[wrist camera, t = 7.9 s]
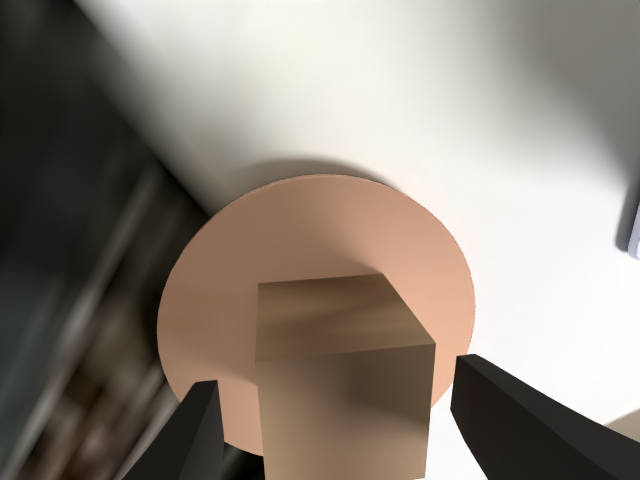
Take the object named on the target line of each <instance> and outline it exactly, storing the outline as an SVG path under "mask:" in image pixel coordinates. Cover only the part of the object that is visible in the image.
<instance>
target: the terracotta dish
mask: <svg viewBox="0 0 640 480" xmlns="http://www.w3.org/2000/svg"><path fill="white" fill-rule="evenodd" d="M382 273H383V274H384V275H385V277H386V278H387V279H388V281H389V282H390V283H391V284H392V286H393V287H394V288H395V290H396V291H397V292H398V294H399V295H400V296H401V298H402V299H403V300H404V302H405V303H406V304H407V306H408V307H409V308H410V309H411V311H412V312H413V313H414V315H415V316H416V317H417V319H418V320H419V321H420V323H421V324H422V325H423V327H424V328H425V329H426V330H427V332H428V333H429V334H430V336H431V337H432V338H433V340H434V341H435V342H436V352H435V363H434V375H433V387H432V399H431V407H432V406H433V405H434V404H436V403H437V401H438V400H439V399H440V398H441V396H442V395H443V394H444V393H445V391H446V390H447V389H448V388H449V386H450V384H451V383H452V381H453V380H454V373H455V364H456V356H459V355H466V354H467V351H468V348H469V345H470V342H471V338H472V333H473V328H474V320H475V295H474V286H473V282H472V278H471V273H470V270H469V267H468V265H467V262H466V260H465V257H464V255H463V253H462V251H461V249H460V247H459V246H458V244H457V242H456V241H455V239H454V237H453V236H452V235H451V234H450V232H449V231H448V230H447V229H446V227H445V226H444V225H443V224H442V222H440V221H439V220H438V219H437V218H436V217H435V216H434V215H433V214H432V213H431V212H430V211H428V210H427V209H426V208H424V207H423V206H421V205H420V204H419V203H417V202H416V201H414V200H413V199H411V198H410V197H408V196H406V195H404V194H402V193H400V192H398V191H396V190H394V189H392V188H390V187H388V186H386V185H383V184H380V183H377V182H374V181H371V180H368V179H364V178H359V177H354V176H348V175H340V174H313V175H303V176H296V177H291V178H287V179H283V180H279V181H275V182H272V183H269V184H267V185H264V186H262V187H259V188H256V189H254V190H252V191H250V192H248V193H246V194H244V195H243V196H241V197H239V198H237V199H235V200H233V201H232V202H231V203H229V204H228V205H227V206H225V207H224V208H222V209H221V210H220V211H218V212H217V213H216V214H215V215H213V216H212V217H211V218H210V219H209V220H208V221H207V222H206V223H205V224H204V225H203V226H202V227H201V228H200V229H199V230H198V232H197V233H196V234H195V235H194V237H193V238H192V239H191V240H190V242H189V243H188V244H187V245H186V247H185V249H184V250H183V252H182V254H181V255H180V257H179V259H178V260H177V262H176V264H175V266H174V267H173V269H172V271H171V273H170V275H169V278H168V280H167V283H166V285H165V288H164V290H163V293H162V298H161V302H160V307H159V311H158V323H157V340H158V351H159V355H160V359H161V363H162V367H163V371H164V373H165V375H166V378H167V380H168V382H169V385H170V387H171V389H172V390H173V392H174V394H175V395H176V397H177V399H178V400H179V402H180V403H181V402H182V400H183V399H184V397H185V395H186V394H187V392H188V391H189V389H190V388H191V386H192V385H193V384H194V383H195V382H199V381H209V380H218V388H219V397H220V405H221V414H222V422H223V431H224V441H225V442H227V443H229V444H231V445H233V446H235V447H237V448H239V449H242V450H245V451H248V452H250V453H253V454H257V455H261V456H264V455H263V444H262V433H261V422H260V411H259V400H258V389H257V378H256V367H255V350H256V325H257V300H258V283H268V282H281V281H293V280H306V279H319V278H331V277H344V276H357V275H370V274H382Z"/></svg>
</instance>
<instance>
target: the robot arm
mask: <svg viewBox="0 0 640 480" xmlns="http://www.w3.org/2000/svg"><path fill="white" fill-rule="evenodd" d="M628 253H629V256H631V257H632V258H634V259H637V260H640V203H639V207H638V211H637V215H636V219H635V223H634V226H633V230H632V234H631V238H630V242H629V246H628ZM450 410H451V413H452V415H453V417H454V419H455V422H456V424H457V426H458V428H459V430H460V432H461V434H462V437H463V439H464V441H465V443H466V444H467V446H468V448H469V449H470V451H471V453H472V454H473V456H474V458H475V459H476V461H477V462H478V464H479V466H480V467H481V469H482V471H483V472H484V474H485V475H486V477H487V479H488V480H640V443H639V442H637V441H635V440H633V439H630V438H628V437H626V436H624V435H622V434H620V433H617V432H615V431H613V430H611V429H609V428H607V427H605V426H603V425H601V424H599V423H597V422H595V421H593V420H591V419H589V418H587V417H585V416H583V415H581V414H579V413H577V412H575V411H574V410H572V409H570V408H568V407H566V406H564V405H562V404H561V403H559V402H557V401H555V400H553V399H552V398H550V397H548V396H546V395H545V394H543V393H541V392H539V391H538V390H536V389H534V388H533V387H531V386H529V385H528V384H526V383H524V382H523V381H521V380H519V379H518V378H516V377H514V376H513V375H511V374H509V373H508V372H506V371H504V370H503V369H501V368H499V367H498V366H496V365H494V364H493V363H491V362H489V361H487V360H486V359H484V358H482V357H480V356H478V355H476V354H469V355H459V356H456V364H455V373H454V381H453V390H452V399H451V407H450ZM223 446H224V431H223V422H222V414H221V405H220V397H219V388H218V380H209V381H199V382H195V383H194V384H193V385H192V386H191V388H190V389H189V391H188V392H187V394H186V395H185V397H184V399H183V400H182V402H181V403H180V405H179V406H178V407H177V409H176V410H175V412H174V413H173V415H172V416H171V418H170V419H169V420H168V422H167V423H166V424H165V426H164V427H163V428H162V430H161V431H160V433H159V434H158V435H157V437H156V438H155V439H154V441H153V442H152V443H151V445H150V446H149V447H148V448H147V450H146V451H145V452H144V453H143V455H142V456H141V457H140V458H139V459H138V461H137V462H136V463H135V464H134V466H133V467H132V468H131V469H130V470H129V472H128V473H127V474H126V475H125V476H124V478H123V479H122V480H220V479H221V472H222V460H223Z"/></svg>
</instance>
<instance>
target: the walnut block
mask: <svg viewBox="0 0 640 480" xmlns="http://www.w3.org/2000/svg"><path fill="white" fill-rule="evenodd" d="M435 352H436V342H435V341H434V340H433V338H432V337H431V336H430V334H429V333H428V332H427V330H426V329H425V328H424V327H423V325H422V324H421V323H420V321H419V320H418V319H417V317H416V316H415V315H414V313H413V312H412V311H411V309H410V308H409V307H408V306H407V304H406V303H405V302H404V300H403V299H402V298H401V296H400V295H399V294H398V292H397V291H396V290H395V288H394V287H393V286H392V284H391V283H390V282H389V281H388V279H387V278H386V277H385V275H384V274H383V273H382V274H370V275H357V276H344V277H331V278H319V279H306V280H293V281H281V282H268V283H258V300H257V325H256V350H255V367H256V378H257V389H258V400H259V411H260V422H261V433H262V444H263V455H264V466H265V477H266V480H414V479H421V478H425V469H426V457H427V446H428V434H429V422H430V410H431V399H432V387H433V375H434V363H435Z"/></svg>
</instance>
